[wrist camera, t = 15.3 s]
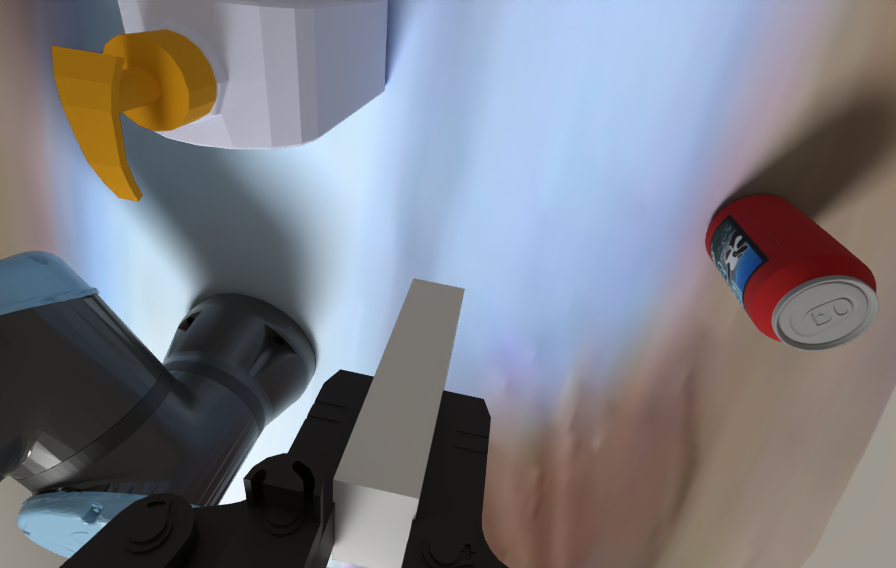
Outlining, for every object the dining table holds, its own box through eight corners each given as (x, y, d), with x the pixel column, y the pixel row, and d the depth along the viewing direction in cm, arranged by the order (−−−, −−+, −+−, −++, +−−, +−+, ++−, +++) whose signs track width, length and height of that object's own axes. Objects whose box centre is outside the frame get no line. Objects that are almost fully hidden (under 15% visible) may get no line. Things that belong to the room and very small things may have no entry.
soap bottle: (276, 83, 37) (6, 187, 18) (267, -21, 33) (-87, -30, 14) (386, 101, 37) (228, 226, 17) (390, -3, 33) (194, 13, 14)
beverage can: (686, 221, 38) (742, 305, 28) (774, 172, 35) (871, 246, 25) (723, 279, 40) (787, 375, 30) (809, 237, 37) (911, 329, 27)
